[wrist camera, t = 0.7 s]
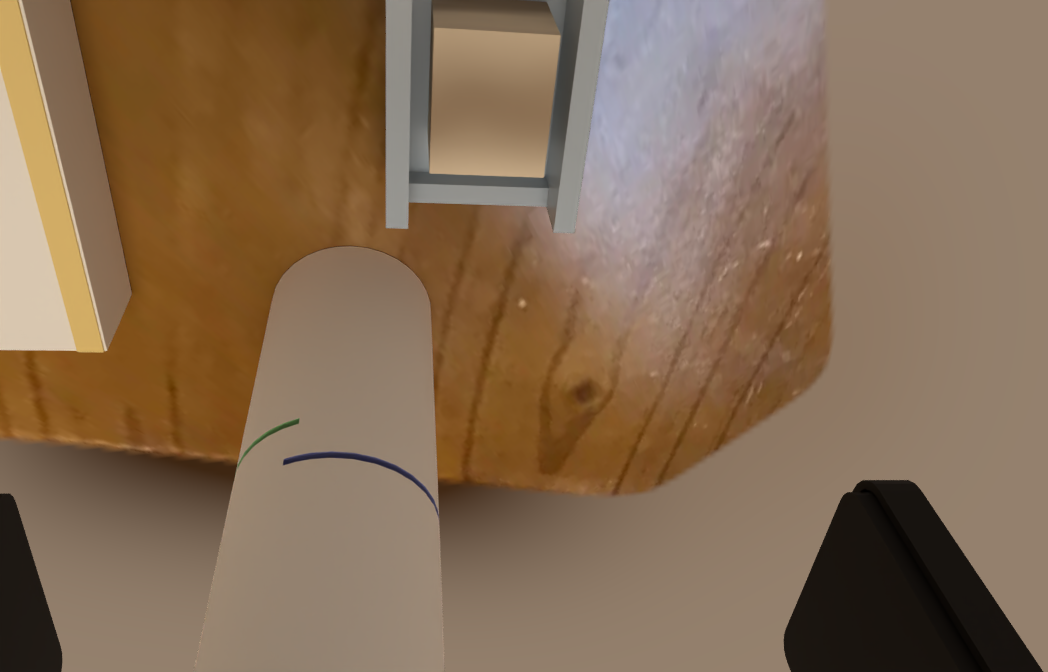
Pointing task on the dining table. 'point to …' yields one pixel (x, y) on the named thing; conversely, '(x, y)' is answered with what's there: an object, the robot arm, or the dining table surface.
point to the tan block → (491, 87)
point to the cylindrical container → (335, 482)
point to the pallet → (408, 29)
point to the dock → (53, 191)
